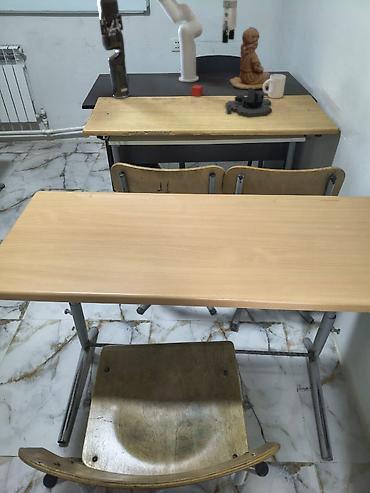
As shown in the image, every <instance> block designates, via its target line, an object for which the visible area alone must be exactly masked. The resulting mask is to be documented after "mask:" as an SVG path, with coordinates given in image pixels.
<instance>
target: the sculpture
mask: <svg viewBox="0 0 370 493" xmlns="http://www.w3.org/2000/svg"><path fill="white" fill-rule="evenodd" d="M241 40H242V43H241V45H240V67H239V69H240V72H239V77H238V76H235V77H234V78H230V79H229V82H230V83H231V85H232V86H233V87H235V88H236V89H240V90H248V88H253V89H254V90H260V89H261V90H262V89H263V84H264V82H265V81H266V80H269V79H270V76H271V73H270V72H268V71H264V70H265V68H264V67H263V65H262V63H261V60H260V59H259V57H258V54H257V53H256V49H257V48H258V46H259V40H260V32H259V30H258V29H257V28H256V27H253V26H249V27H248V28H246V29H245V30H244V31H243V33H242V36H241ZM268 88H269V83H267V84H266V86H265V89H268Z"/></svg>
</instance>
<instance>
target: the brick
mask: <svg viewBox="0 0 370 493" xmlns="http://www.w3.org/2000/svg"><path fill="white" fill-rule="evenodd" d="M190 88H191V89H190V91H191V92H190V94H191V97H198V98H200V97H202V96H203V95H204V94H203V93H204V86H203V85H197V84H194V85H193V86H192V87H190Z"/></svg>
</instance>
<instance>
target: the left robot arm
mask: <svg viewBox="0 0 370 493" xmlns="http://www.w3.org/2000/svg"><path fill="white" fill-rule="evenodd" d="M97 6H98V13H99V27H100V37H101V43H102V47H103V49H104V50H105V51H114V53H113V54H112V55H110V56H109V57H108V58H107V64H108V70H109V75H110V83H111V89H112V97H113V98H114V99H125V98H128V97H130V90H129V89H130V88H129V82H128V81H129V79H128V74H127V66H126V65H127V64H126V50H125V39H124V33H123V32H122V31H124V24H123V18H122V14H119V13H120V8H119V1H118V0H97Z"/></svg>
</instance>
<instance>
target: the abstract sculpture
mask: <svg viewBox="0 0 370 493" xmlns="http://www.w3.org/2000/svg"><path fill="white" fill-rule="evenodd" d="M224 106H225V107H226V110H225V112H226V113H227V114H228V115H230V114H232V112H233V113H237V114H238V115H239V116H243V117H248V118H253V117H262V116H263V117H264V116H269V115H270V113H272V112H273V109H272V108H271V106H272V101H271V100H270V99H269V98H265V95H264V94H262V93H258V92H257V91H256V89H253V88H248V89H247V96H245V95H243V94H241V95H240V94H239V95H236V96H234V100H229V101H227V102H225V104H224Z"/></svg>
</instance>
